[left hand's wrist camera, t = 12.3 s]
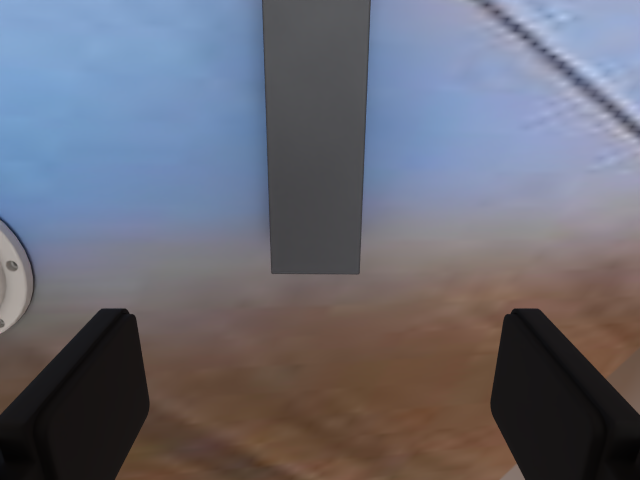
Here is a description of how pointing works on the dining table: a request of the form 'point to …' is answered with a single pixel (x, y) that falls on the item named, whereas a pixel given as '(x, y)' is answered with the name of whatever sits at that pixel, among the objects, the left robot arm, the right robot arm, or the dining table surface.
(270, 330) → the dining table surface
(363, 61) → the beam
